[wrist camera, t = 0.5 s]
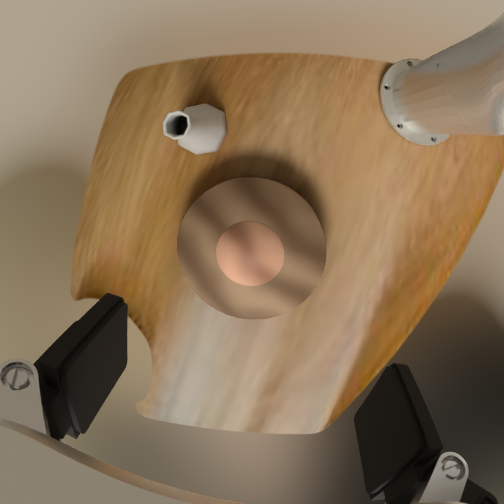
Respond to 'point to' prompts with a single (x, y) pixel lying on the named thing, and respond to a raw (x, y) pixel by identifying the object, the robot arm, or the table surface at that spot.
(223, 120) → the flask
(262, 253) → the turntable
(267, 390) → the table surface
